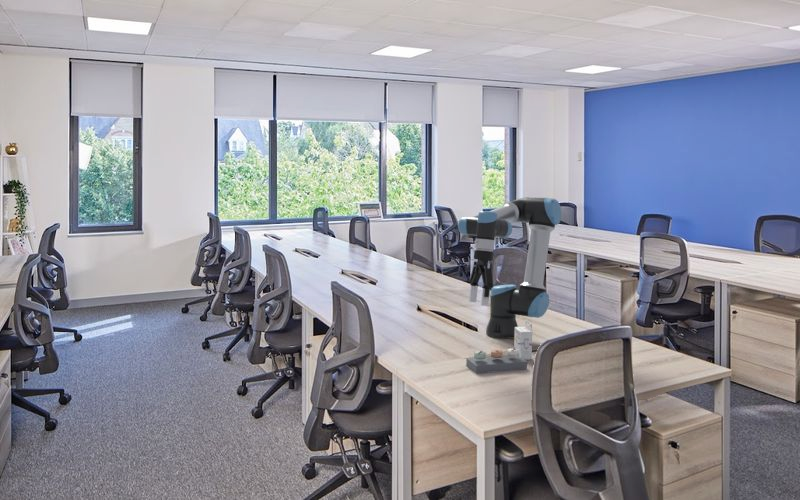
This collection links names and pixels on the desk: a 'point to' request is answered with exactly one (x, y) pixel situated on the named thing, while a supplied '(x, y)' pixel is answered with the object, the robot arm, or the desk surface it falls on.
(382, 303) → the desk surface
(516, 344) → the ink cartridge box
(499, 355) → the terracotta button
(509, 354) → the cream button
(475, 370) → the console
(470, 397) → the desk surface
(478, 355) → the sage button
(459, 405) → the desk surface
